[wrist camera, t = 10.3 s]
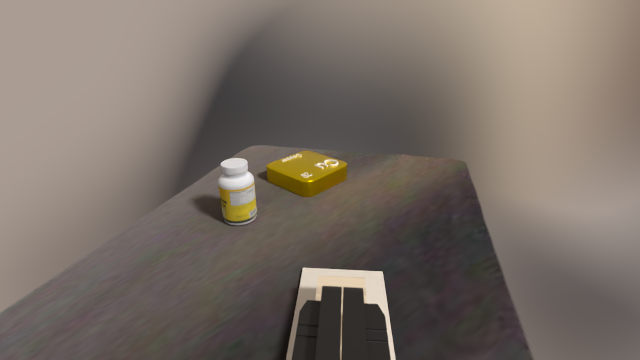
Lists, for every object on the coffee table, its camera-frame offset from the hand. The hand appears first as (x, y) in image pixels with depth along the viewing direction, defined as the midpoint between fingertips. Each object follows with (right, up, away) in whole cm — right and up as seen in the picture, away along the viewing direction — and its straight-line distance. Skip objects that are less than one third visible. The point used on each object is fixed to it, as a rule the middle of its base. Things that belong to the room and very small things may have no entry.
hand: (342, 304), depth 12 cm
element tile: (-4, +4, +68) cm, 68 cm away
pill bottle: (-16, -3, +51) cm, 54 cm away
